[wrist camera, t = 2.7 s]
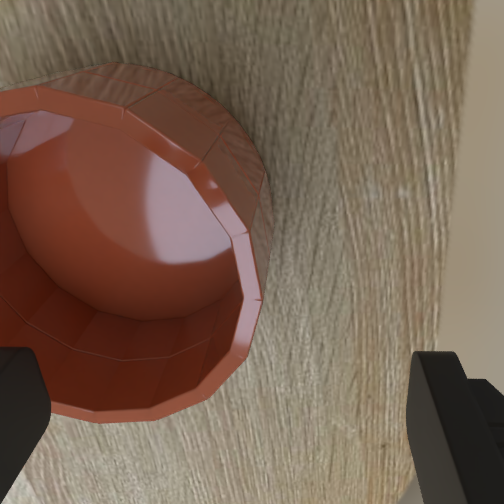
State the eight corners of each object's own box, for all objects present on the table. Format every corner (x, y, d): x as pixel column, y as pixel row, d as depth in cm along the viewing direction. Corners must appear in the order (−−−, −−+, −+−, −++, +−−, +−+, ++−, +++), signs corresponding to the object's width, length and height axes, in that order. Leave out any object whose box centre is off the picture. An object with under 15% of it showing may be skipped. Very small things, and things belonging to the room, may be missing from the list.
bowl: (160, -6, 16) (85, -11, 10) (324, 255, 20) (330, 349, 14) (-55, 163, 19) (-190, 222, 14) (119, 355, 23) (63, 460, 18)
